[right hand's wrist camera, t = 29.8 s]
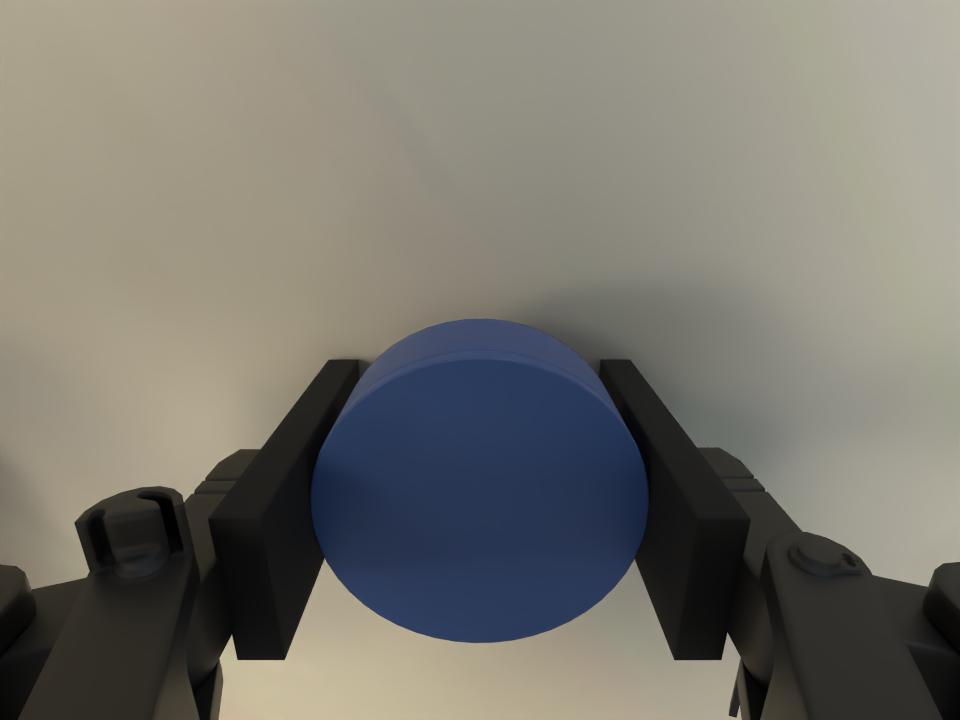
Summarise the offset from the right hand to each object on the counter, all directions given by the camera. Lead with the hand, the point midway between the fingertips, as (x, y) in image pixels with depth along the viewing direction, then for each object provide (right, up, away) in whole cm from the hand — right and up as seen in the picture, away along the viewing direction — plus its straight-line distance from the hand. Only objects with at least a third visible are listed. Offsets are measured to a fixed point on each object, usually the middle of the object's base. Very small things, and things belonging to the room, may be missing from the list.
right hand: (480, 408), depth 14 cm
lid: (0, -1, -4) cm, 4 cm away
